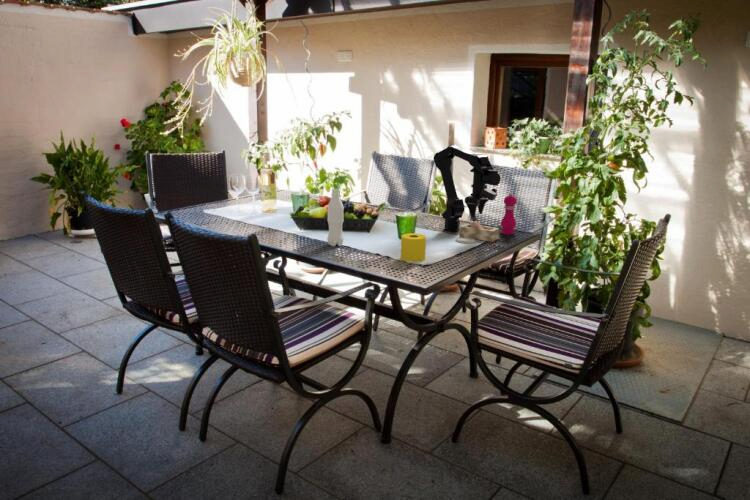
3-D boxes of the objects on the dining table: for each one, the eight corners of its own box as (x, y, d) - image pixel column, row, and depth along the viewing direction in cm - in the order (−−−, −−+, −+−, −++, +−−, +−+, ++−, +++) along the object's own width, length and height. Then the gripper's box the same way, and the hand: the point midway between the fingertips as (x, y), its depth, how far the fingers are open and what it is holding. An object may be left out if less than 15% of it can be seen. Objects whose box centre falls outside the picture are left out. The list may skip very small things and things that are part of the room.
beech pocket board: (459, 236, 290) (460, 226, 288) (465, 233, 296) (466, 223, 294) (492, 241, 281) (493, 231, 280) (498, 238, 288) (499, 228, 286)
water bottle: (346, 244, 273) (346, 188, 266) (339, 247, 266) (340, 191, 259) (331, 242, 275) (331, 187, 268) (324, 246, 268) (324, 189, 262)
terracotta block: (469, 225, 287) (473, 221, 286) (473, 223, 291) (476, 220, 290) (483, 239, 286) (486, 235, 284) (486, 237, 289) (489, 234, 288)
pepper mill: (515, 235, 295) (518, 194, 289) (500, 234, 296) (503, 193, 291) (515, 231, 301) (518, 191, 296) (500, 230, 303) (503, 190, 297)
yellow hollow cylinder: (407, 262, 246) (408, 240, 244) (396, 256, 255) (397, 234, 253) (429, 260, 250) (430, 238, 248) (418, 254, 259) (418, 232, 257)
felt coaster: (452, 241, 281) (452, 240, 280) (460, 237, 288) (460, 236, 288) (471, 244, 276) (471, 243, 276) (478, 240, 284) (478, 239, 283)
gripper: (488, 187, 271) (486, 221, 275) (502, 181, 286) (500, 214, 291) (465, 184, 276) (463, 218, 280) (480, 179, 292) (478, 211, 296)
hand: (476, 215), depth 287 cm, fingers open, 9 cm apart
